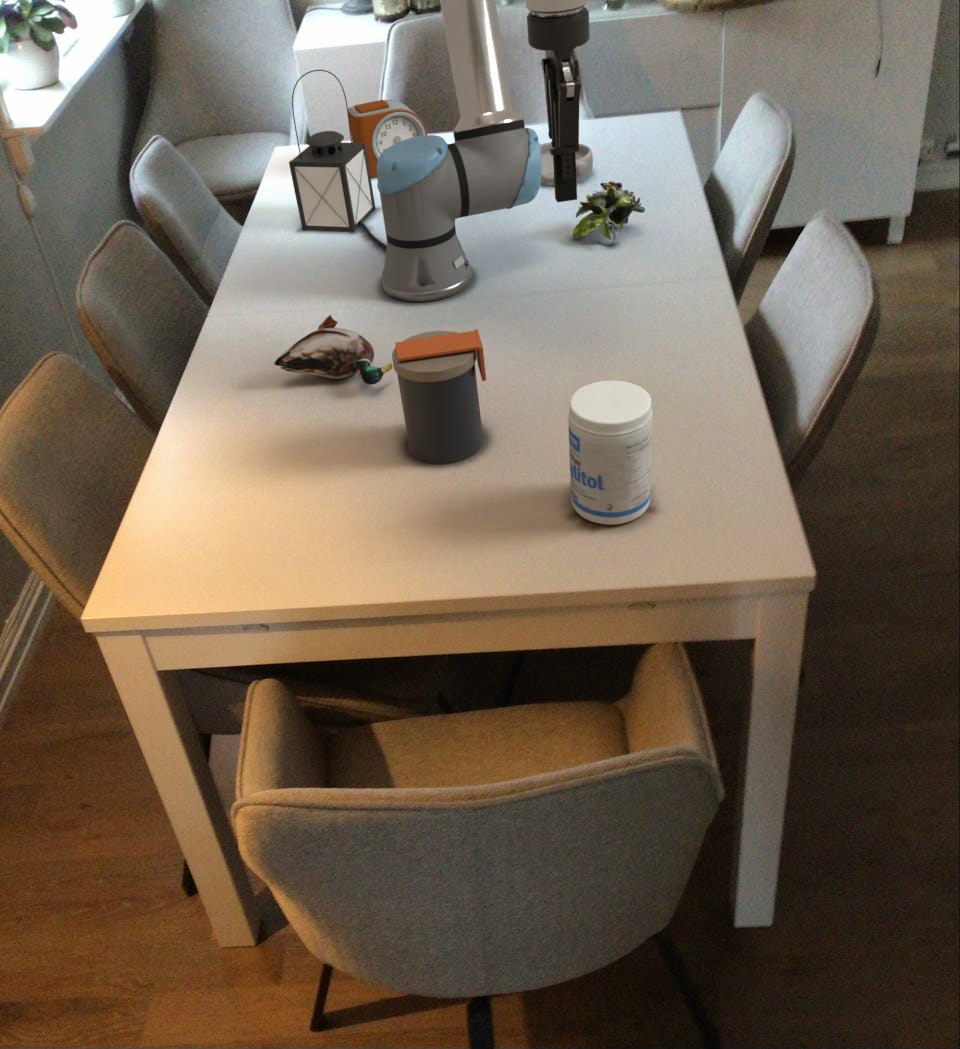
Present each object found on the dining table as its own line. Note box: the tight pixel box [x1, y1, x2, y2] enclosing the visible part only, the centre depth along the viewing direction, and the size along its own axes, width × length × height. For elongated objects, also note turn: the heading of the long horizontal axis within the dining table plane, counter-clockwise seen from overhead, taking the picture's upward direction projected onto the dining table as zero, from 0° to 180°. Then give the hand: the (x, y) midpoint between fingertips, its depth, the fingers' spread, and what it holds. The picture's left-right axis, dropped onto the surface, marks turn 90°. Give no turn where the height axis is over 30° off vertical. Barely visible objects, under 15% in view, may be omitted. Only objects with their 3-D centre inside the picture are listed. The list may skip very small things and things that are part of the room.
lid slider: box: [394, 328, 487, 382], centre depth 137 cm, size 11×5×5 cm, turn 98°
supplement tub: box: [567, 380, 653, 526], centre depth 126 cm, size 10×10×15 cm
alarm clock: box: [347, 99, 429, 179], centre depth 228 cm, size 15×8×14 cm, turn 111°
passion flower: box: [571, 180, 646, 247], centre depth 191 cm, size 11×11×12 cm
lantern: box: [288, 69, 377, 233], centre depth 203 cm, size 11×11×28 cm
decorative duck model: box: [273, 314, 393, 385], centre depth 158 cm, size 15×8×15 cm
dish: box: [540, 141, 594, 186], centre depth 218 cm, size 14×14×5 cm
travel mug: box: [391, 330, 484, 465], centre depth 141 cm, size 11×11×14 cm
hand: (566, 198), depth 145 cm, fingers closed
